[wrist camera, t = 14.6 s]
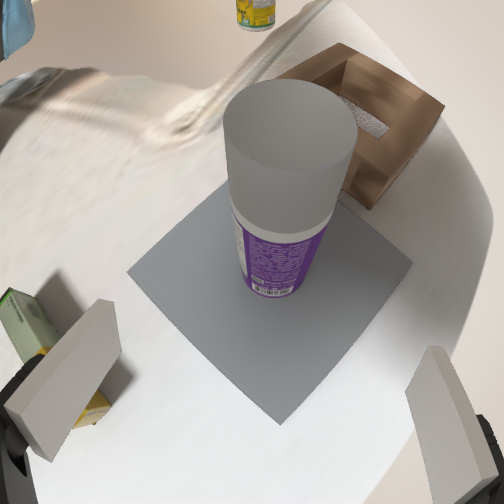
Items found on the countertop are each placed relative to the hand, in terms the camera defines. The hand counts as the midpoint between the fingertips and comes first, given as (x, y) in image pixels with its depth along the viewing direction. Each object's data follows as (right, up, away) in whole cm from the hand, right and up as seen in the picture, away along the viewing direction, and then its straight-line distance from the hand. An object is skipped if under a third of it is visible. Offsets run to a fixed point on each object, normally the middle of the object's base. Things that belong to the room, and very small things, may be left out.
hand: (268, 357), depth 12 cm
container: (+1, +3, +12) cm, 12 cm away
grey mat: (+1, +3, +12) cm, 12 cm away
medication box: (-16, -5, +10) cm, 19 cm away
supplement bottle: (0, +37, +26) cm, 45 cm away
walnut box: (+9, +16, +17) cm, 25 cm away
